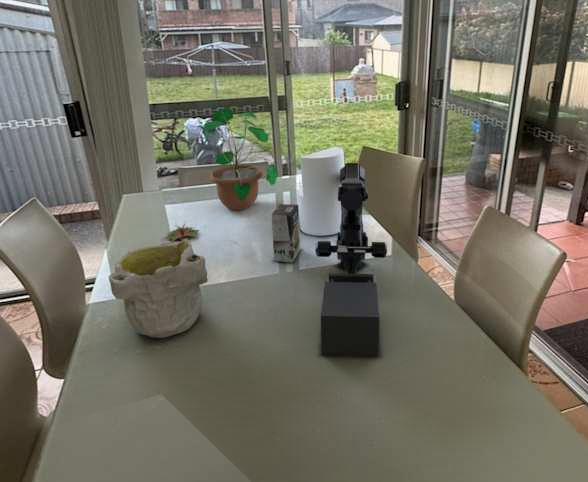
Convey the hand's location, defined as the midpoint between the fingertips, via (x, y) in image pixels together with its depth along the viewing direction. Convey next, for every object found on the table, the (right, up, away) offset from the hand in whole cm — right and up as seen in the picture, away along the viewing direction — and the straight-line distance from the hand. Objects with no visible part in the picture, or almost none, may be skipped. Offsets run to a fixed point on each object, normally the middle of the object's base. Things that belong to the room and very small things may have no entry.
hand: (350, 281), depth 114 cm
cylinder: (-8, +11, +48) cm, 50 cm away
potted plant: (-41, +19, +70) cm, 84 cm away
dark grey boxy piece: (0, -7, -2) cm, 8 cm away
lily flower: (-58, +8, +42) cm, 72 cm away
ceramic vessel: (-47, -9, -1) cm, 48 cm away
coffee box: (-19, +3, +28) cm, 34 cm away
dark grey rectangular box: (-1, -11, -9) cm, 15 cm away
